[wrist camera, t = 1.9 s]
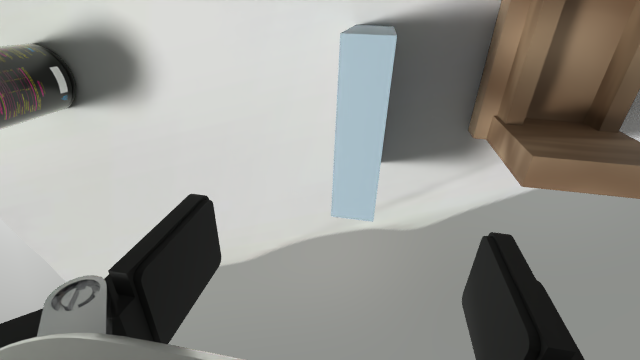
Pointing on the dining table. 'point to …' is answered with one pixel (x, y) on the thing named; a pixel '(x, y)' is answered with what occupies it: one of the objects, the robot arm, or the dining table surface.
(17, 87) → the supplement container
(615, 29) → the base
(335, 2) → the dining table surface
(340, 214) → the door panel
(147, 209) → the dining table surface
